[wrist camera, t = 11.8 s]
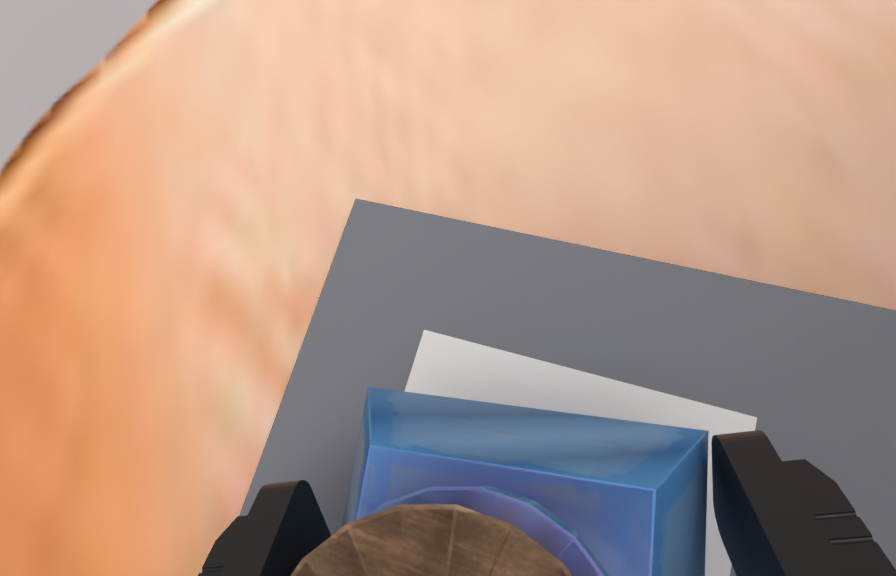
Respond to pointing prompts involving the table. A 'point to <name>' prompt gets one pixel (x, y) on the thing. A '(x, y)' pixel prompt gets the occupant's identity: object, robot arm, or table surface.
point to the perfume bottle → (516, 494)
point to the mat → (585, 355)
